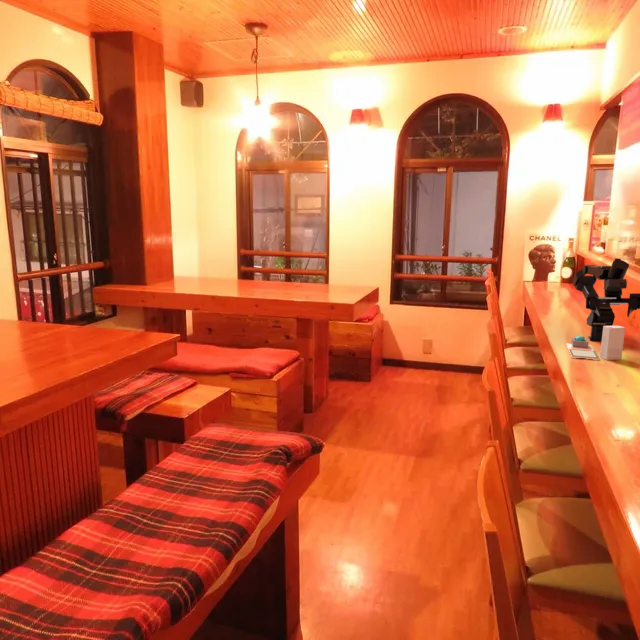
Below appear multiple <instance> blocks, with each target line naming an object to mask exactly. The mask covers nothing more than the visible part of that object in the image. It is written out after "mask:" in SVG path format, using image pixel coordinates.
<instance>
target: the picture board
mask: <svg viewBox="0 0 640 640" xmlns="http://www.w3.org/2000/svg"><path fill="white" fill-rule="evenodd" d="M566 345H567V347H566V349H567V348H568V349H567V350H569V351H568V353H569V352H570V353H569V355H570V354H571V356H570V358H571V357H576V358H586V359H585V360H588V359H593V360H592V361H599V360H600V358H599V356H598V354H597V353H596V351H595V349H594V348H593V346H592V345H591V344H589V339H587V338H584V341H576V337H571V341H570V343H567V342H566V344H565V346H566ZM576 358H575V359H576Z"/></svg>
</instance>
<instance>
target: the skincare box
mask: <svg viewBox="0 0 640 640" xmlns="http://www.w3.org/2000/svg"><path fill="white" fill-rule="evenodd" d="M625 333H626V327H624V326H621V325H612V326H603V334H602V341H601V345H600V354H599V357H600V358H601V359H603V360H606V361H612V360H616V361H617V360H623V358H622V357H623V350H624V340H625Z"/></svg>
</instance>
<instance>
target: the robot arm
mask: <svg viewBox="0 0 640 640" xmlns="http://www.w3.org/2000/svg"><path fill="white" fill-rule="evenodd" d="M629 267H630V264H629V263H628V262H626V261H625V260H622V259H621V258H614V260H613V261H612V263H611V265H599V266H598V265H596V264H584V265H583V266H582V268H581V269H579V270H578V271H577V272H576V273H574V275H573V277H572V286H573V287H574V288H575V289H576V290H577V291H578V292H580V293H582V295H583V296H584V299H585V308H586V309H587V310H590V313H589V314H588V316H587V318H586V325H588V326H590V334H589V336H587V338H588V341H589V342H602V334H603V326H614V325H613V324H614V321H615V318H616V315H615V312H614V310H613V308H612V307H611V306H616V305H617V306H619V305H627V313H626V317H627V318H629V317H630V315H631V314H632V313H633V312H634V311H637V310H640V293H637V292H636V293H634V292H633V293H629V295H628V297H624V298H623V297H622V295H623V289H624V290H625V289H627V287H628V286H627V285H628V282H627V281H628V280H627V278H625V276H626V274H627V273H628V272H627V271H628V270H629ZM597 280H598V281H603V290H604V291H603V292H604V296H599V294H598V292H597V290H596V289H595V287H594V286H595V283H596V282H597Z"/></svg>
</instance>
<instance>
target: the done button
mask: <svg viewBox="0 0 640 640" xmlns="http://www.w3.org/2000/svg"><path fill="white" fill-rule="evenodd" d="M575 338H576V341H584V339H586V338H585V336H583V335H576V336H575Z"/></svg>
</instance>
